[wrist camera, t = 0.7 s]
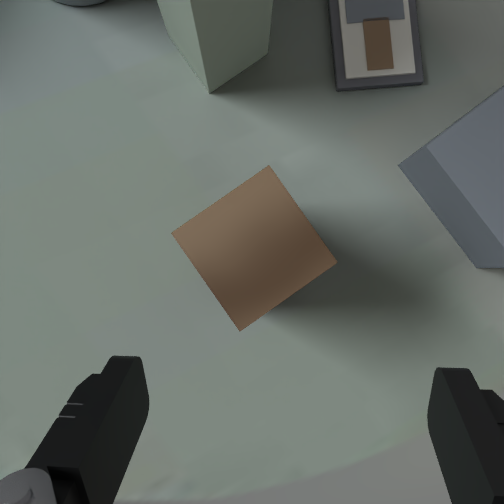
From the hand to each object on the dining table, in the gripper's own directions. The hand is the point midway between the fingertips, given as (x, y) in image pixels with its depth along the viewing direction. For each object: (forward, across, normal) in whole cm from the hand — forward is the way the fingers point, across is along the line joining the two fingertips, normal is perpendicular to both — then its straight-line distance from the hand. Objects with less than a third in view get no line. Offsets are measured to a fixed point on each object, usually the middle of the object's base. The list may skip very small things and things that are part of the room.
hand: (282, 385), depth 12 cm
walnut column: (+18, +3, +5) cm, 18 cm away
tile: (+26, -6, -9) cm, 28 cm away
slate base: (+22, -14, +1) cm, 26 cm away
